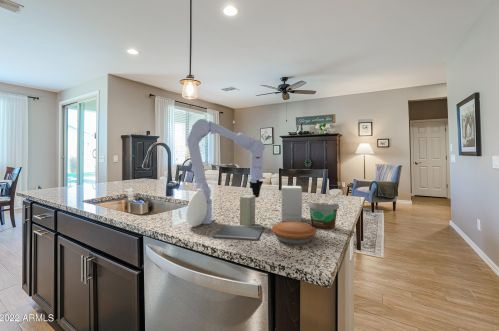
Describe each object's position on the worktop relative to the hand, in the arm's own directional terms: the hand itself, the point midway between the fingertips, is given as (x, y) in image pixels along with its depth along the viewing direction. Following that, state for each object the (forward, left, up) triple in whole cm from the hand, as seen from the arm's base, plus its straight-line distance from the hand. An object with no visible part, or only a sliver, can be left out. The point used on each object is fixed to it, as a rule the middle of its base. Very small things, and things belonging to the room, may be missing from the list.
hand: (256, 197), depth 109 cm
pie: (+17, -23, -11) cm, 30 cm away
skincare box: (-2, -9, -10) cm, 14 cm away
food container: (+28, -8, -10) cm, 31 cm away
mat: (-3, -20, -10) cm, 22 cm away
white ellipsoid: (-23, -16, -10) cm, 30 cm away
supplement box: (+16, +3, -10) cm, 19 cm away
